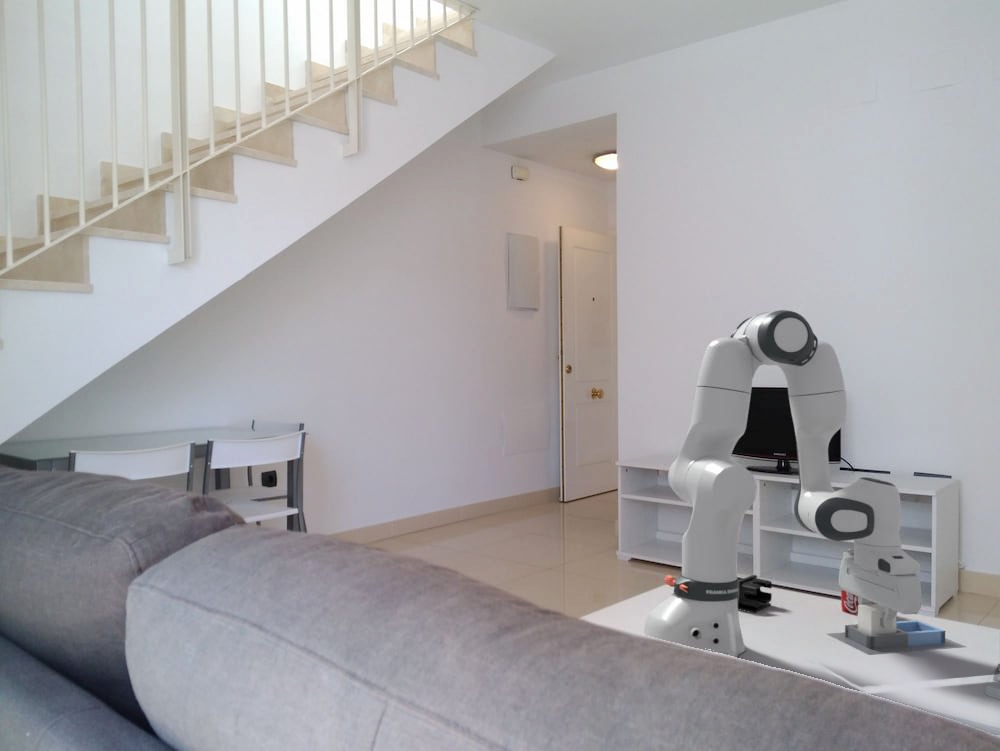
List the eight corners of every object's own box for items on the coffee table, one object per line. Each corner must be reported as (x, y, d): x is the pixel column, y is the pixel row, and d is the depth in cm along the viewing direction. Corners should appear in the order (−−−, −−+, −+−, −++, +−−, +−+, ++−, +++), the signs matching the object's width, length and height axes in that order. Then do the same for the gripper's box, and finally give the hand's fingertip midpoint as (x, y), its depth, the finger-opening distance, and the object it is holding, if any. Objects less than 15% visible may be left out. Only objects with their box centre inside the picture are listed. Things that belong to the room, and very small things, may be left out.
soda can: (878, 621, 176) (878, 568, 176) (845, 619, 177) (845, 567, 178) (869, 612, 183) (869, 561, 183) (838, 610, 184) (838, 560, 185)
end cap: (744, 599, 193) (745, 572, 193) (772, 605, 188) (772, 577, 188) (726, 607, 186) (726, 579, 186) (754, 614, 181) (754, 585, 181)
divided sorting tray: (868, 659, 151) (868, 641, 151) (826, 638, 163) (826, 621, 163) (966, 651, 156) (966, 634, 156) (917, 631, 169) (917, 615, 169)
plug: (871, 645, 156) (871, 610, 156) (857, 638, 160) (857, 605, 160) (896, 643, 158) (896, 609, 158) (882, 636, 161) (882, 603, 162)
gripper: (831, 546, 168) (831, 609, 168) (900, 568, 148) (899, 640, 148) (856, 545, 170) (855, 608, 170) (927, 567, 150) (927, 638, 150)
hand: (876, 623), depth 159 cm, fingers closed on plug, 4 cm apart
